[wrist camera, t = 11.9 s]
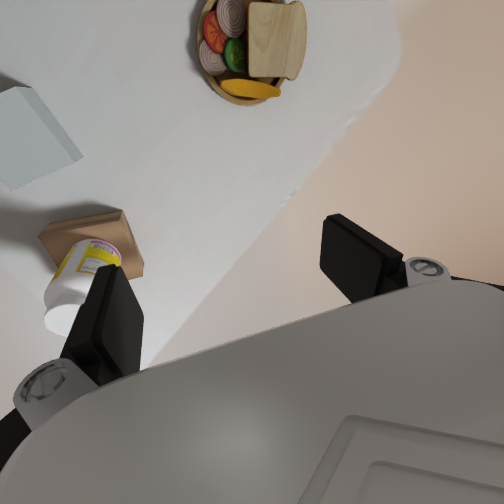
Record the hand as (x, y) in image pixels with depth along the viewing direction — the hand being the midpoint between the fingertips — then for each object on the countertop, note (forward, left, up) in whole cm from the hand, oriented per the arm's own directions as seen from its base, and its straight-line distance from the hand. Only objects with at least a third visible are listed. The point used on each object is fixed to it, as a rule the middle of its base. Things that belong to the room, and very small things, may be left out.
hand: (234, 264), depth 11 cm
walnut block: (+12, -16, -30) cm, 36 cm away
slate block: (-4, -18, -30) cm, 35 cm away
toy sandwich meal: (-11, +11, -31) cm, 35 cm away
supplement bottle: (+12, -16, -26) cm, 33 cm away
